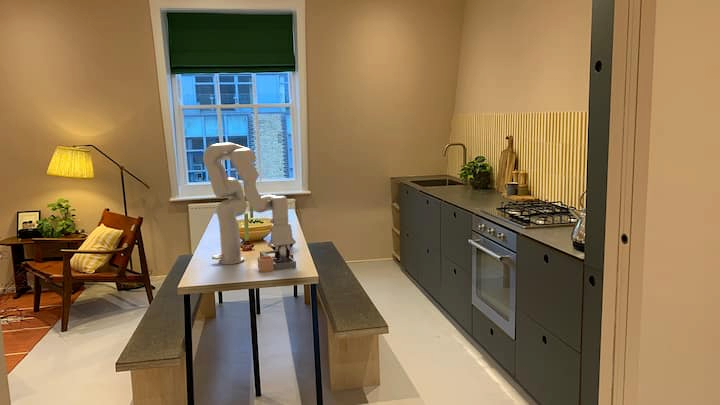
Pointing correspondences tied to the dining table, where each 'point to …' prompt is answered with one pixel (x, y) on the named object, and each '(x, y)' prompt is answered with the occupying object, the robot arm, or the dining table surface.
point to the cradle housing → (264, 253)
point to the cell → (282, 253)
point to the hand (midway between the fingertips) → (282, 257)
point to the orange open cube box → (265, 264)
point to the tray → (284, 264)
